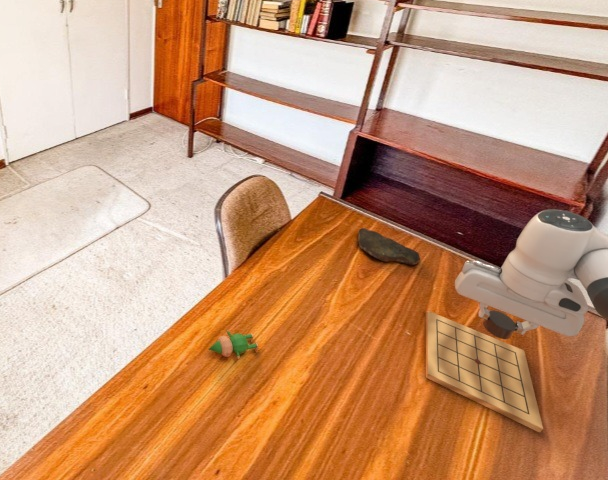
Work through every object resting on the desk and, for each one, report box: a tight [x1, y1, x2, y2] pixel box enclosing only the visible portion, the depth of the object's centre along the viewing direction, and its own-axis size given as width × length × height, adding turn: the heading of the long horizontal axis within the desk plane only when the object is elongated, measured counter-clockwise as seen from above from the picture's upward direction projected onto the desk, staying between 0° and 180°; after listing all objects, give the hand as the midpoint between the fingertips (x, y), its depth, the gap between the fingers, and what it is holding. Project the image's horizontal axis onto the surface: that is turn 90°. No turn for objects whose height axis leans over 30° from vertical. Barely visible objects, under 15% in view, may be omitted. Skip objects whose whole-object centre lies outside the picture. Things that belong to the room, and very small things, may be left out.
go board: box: [425, 310, 544, 434], centre depth 93 cm, size 20×20×2 cm
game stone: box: [482, 309, 517, 340], centre depth 88 cm, size 5×5×3 cm
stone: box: [357, 227, 421, 266], centre depth 124 cm, size 18×11×3 cm, turn 49°
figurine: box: [208, 329, 259, 360], centre depth 93 cm, size 4×7×12 cm
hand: (500, 323), depth 87 cm, fingers closed on game stone, 5 cm apart
